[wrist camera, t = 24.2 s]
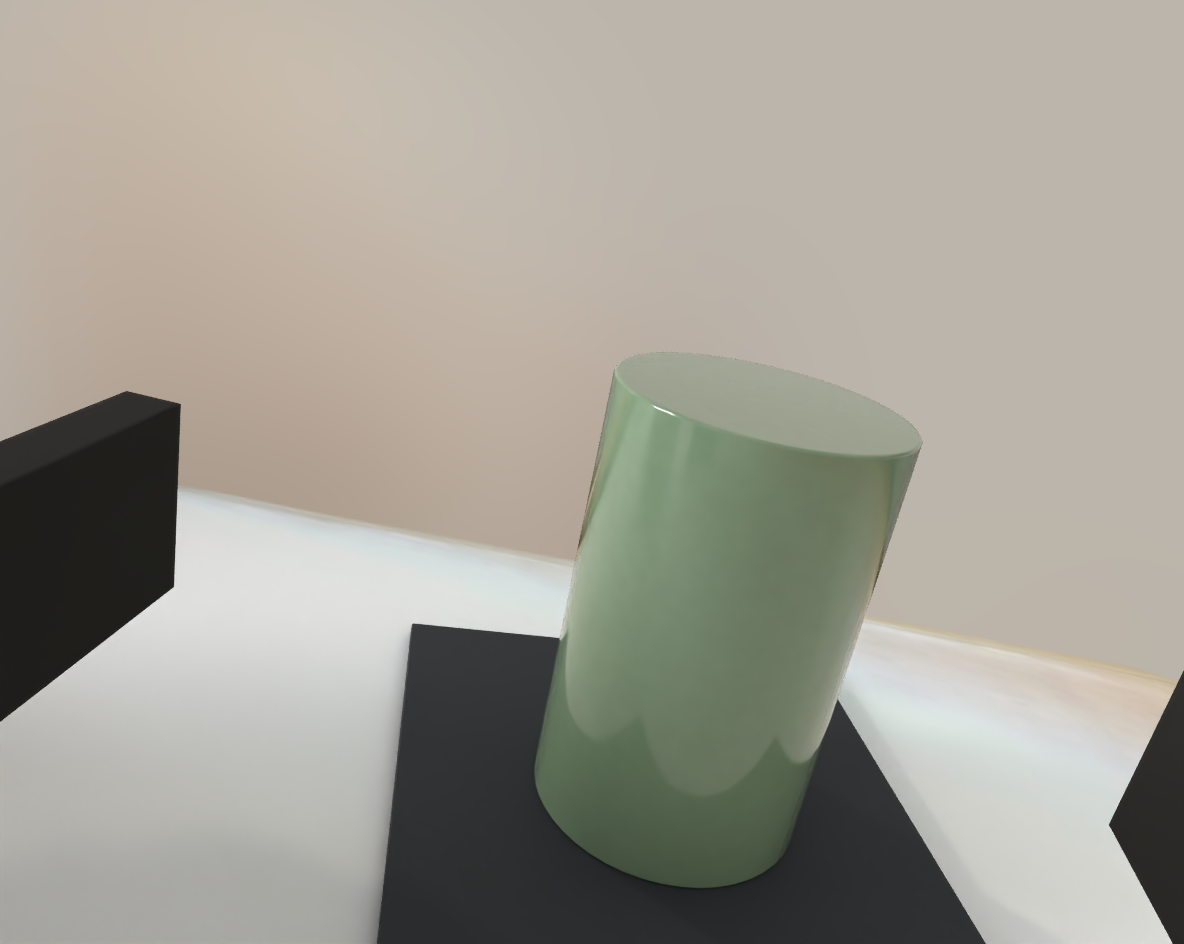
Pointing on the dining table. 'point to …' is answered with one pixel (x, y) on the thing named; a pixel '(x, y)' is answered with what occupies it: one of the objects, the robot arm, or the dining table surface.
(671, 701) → the canister
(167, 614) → the dining table surface
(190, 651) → the dining table surface
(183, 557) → the dining table surface
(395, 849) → the mat
